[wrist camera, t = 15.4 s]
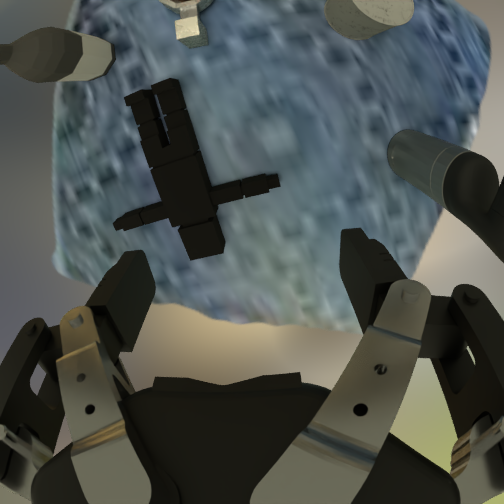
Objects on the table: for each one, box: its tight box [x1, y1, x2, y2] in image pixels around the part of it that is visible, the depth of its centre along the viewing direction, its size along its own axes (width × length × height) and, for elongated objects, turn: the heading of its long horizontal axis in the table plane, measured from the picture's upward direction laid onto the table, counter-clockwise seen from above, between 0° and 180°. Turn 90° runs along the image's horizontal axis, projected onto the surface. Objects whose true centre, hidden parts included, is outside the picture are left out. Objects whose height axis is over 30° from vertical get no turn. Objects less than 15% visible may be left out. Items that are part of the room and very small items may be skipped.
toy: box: [113, 78, 281, 260], centre depth 43 cm, size 30×5×30 cm
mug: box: [159, 0, 213, 49], centre depth 27 cm, size 8×13×8 cm, turn 7°
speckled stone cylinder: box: [324, 0, 414, 40], centre depth 25 cm, size 10×10×12 cm
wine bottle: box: [0, 27, 116, 83], centre depth 21 cm, size 8×8×30 cm
